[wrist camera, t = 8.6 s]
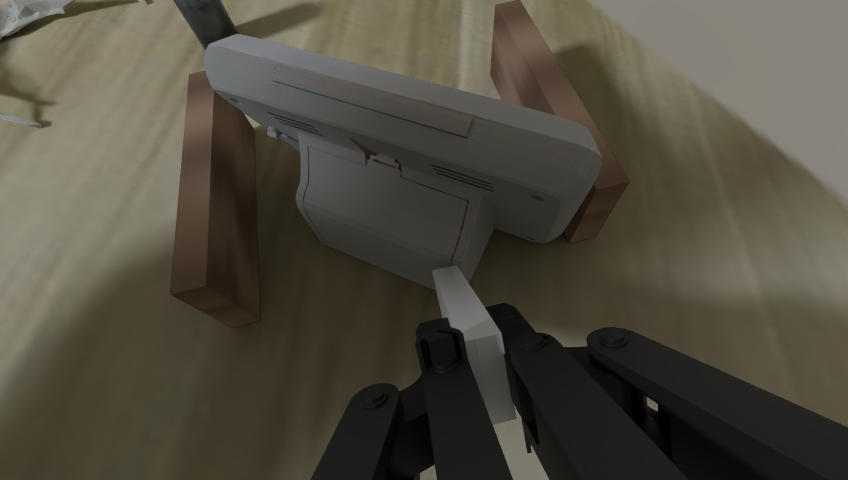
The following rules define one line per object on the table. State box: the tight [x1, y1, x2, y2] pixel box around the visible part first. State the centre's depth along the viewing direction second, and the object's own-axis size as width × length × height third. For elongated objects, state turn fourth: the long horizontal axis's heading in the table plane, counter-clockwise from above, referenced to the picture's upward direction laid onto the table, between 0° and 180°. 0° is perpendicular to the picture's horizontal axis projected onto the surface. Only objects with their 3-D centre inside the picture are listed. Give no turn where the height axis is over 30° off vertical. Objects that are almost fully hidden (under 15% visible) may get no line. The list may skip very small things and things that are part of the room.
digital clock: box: [204, 34, 603, 291], centre depth 19 cm, size 16×9×11 cm, turn 53°
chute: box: [170, 0, 630, 327], centre depth 22 cm, size 14×20×5 cm
